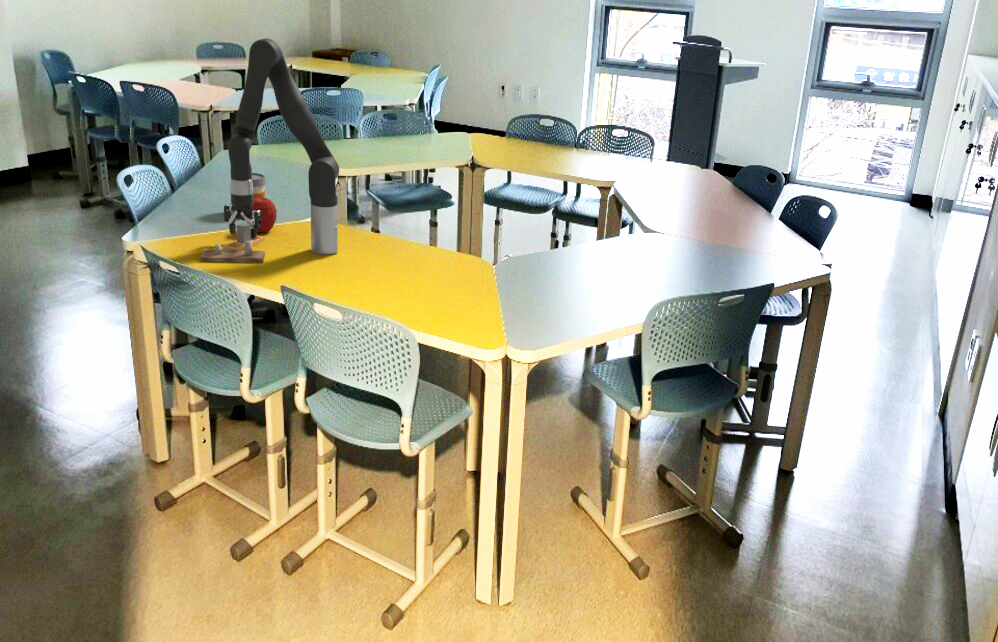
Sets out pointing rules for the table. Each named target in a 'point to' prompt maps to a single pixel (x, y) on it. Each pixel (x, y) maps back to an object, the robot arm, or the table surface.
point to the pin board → (233, 255)
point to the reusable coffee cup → (258, 185)
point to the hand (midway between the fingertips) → (243, 236)
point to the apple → (265, 213)
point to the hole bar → (243, 238)
